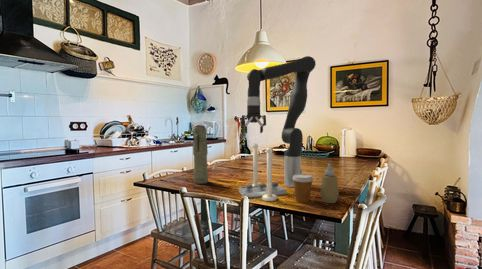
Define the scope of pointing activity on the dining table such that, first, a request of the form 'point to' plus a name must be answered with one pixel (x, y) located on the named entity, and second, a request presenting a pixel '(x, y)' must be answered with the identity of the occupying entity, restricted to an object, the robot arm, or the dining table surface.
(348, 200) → the dining table surface
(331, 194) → the squeeze bottle
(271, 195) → the near post
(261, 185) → the middle paddle
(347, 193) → the dining table surface
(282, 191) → the breaker panel
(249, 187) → the paddle
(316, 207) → the dining table surface
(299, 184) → the disposable coffee cup
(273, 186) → the paddle
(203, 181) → the thermos
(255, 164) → the far post
